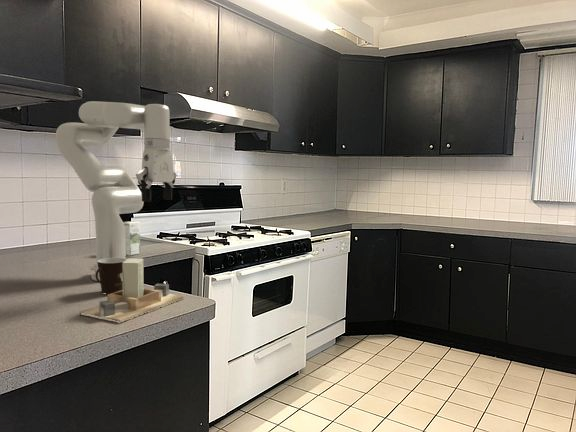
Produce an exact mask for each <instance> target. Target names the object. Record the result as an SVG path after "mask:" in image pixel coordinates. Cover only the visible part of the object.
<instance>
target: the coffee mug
mask: <svg viewBox="0 0 576 432" xmlns="http://www.w3.org/2000/svg"><path fill="white" fill-rule="evenodd" d="M127 259H128V258H126V259H125V258H105V259H100V260H98V261H97V263H98V270H97V271H96V279H97V281H96V282H98V283H99V284H100V288H101V294H102V293H106V294H111V293H114V292H118V291H121V290H123V268H122V263H123V262H124V261H125V260H127ZM98 272H99V276H100V280H99V279H98Z"/></svg>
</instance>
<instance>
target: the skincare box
mask: <svg viewBox="0 0 576 432" xmlns="http://www.w3.org/2000/svg"><path fill="white" fill-rule="evenodd" d="M126 259H127V260H125V261H124V262H123V263H122V268H123V296H126V297H132V298H137V297H140V296H143V295H144V288H145V287H144V282H145V281H144V258H140V257H139V258H138V257H137V258H136V257H135V258H134V257H133V258H131V257H128V258H126Z"/></svg>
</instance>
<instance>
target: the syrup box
mask: <svg viewBox="0 0 576 432" xmlns="http://www.w3.org/2000/svg"><path fill="white" fill-rule="evenodd" d="M123 223H124V225H125V251H126V256H129V257H130V256H137V255H140V254H141V222H140V221H136V220H131V221H123Z"/></svg>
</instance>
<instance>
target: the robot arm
mask: <svg viewBox="0 0 576 432" xmlns="http://www.w3.org/2000/svg"><path fill="white" fill-rule="evenodd" d="M78 117H79V118H80V120H81V121H82V122H72V121H71V122H65V123H62V124H60V125H59V126H58V127H57V129H56V131H55V143H56V146H57V149H58V150H59V153H60V154H61V156H62V157H63V158H64V160H66V161H67V163H68V164H69V165H70V166H71V167H72V168H73V170H74V172H75V173H76V175H77V177H78V178H79V179H80V182H82V184H83V186H84V187H85V188H86V190H88V191H89V192H92V196H91V205H92V211H93V214H94V221H95V222H94V224H95V260H96V263H94V264H92V266H89V270H91V271H94V273H93V274H92V275H91V279H92V281H95V282H98V281H97V279H96V271H97V270H98V263H97V261H98V260H100V259H105V258H125V259H127V257H126V256H127V255H126V251H125V225H124V223H123V222H124V221H123V220H122V218H121V216H120V215H122V214H132V213H138V212H139V211H141V210H142V209H143V207H144V202H145V203H151V202H152V188H151V186H152V184H153V183H162V185H163V186H164V187H162V196H163V197H162V198H163V200H164V201H172V200H173V188H174V185H175V183H176V178H177V173H176V172H175V171H174V160H173V159H174V158H173V153H172V150H171V148H170V146H171V144H170V143H171V142H170V141H171V139H170V138H171V137H170V134H171V133H170V131H171V129H170V127H171V126H170V125H171V124H170V123H171V122H170V117H171V115H170V107H169V106H168V105H165V104H161V103H149V104H146V105H141V104H135V103H127V102H114V101H99V100H98V101H95V100H94V101H93V100H92V101H91V100H90V101H86V102H85V103H82V104H81V105H80V107H79V109H78ZM119 128H121V129H133V130H134V129H135V130H141V131H143V130H144V131H143V132H144V137H143V138H144V140H143V145H144V146H143V147H144V149H143V153H142V159H141V169H140V170H139V171H138V172H137V173H135V176H136V177H135V178H136V180H137V184H138V185H139V186H138V185H137V184H136V182H135V180H134V179H133V178H132V177H131V175H130V173H129V172H128V171H127V170H126V169H125V168H123V167H122V166H119V165H106V164H105V165H104V164H103V163H101V162H99V160H98V159H97V157H96V156H95V155H94V154H93V152H91V151H90V150H88V149H86V148H96V149H97V148H103V147H104V146H106V145H107V144H108V143H109V142H110V140H111V139H112V137H113V136H114V135H115V134H116V132H117V131H118V130H119ZM98 279H99V280H100V276H99V272H98Z"/></svg>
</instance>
